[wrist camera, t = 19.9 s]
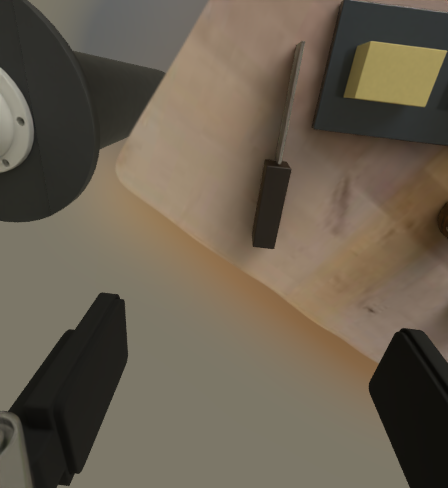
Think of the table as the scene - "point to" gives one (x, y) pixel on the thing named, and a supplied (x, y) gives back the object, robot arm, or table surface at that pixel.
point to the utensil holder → (443, 220)
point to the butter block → (393, 73)
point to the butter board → (378, 113)
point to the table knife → (275, 174)
